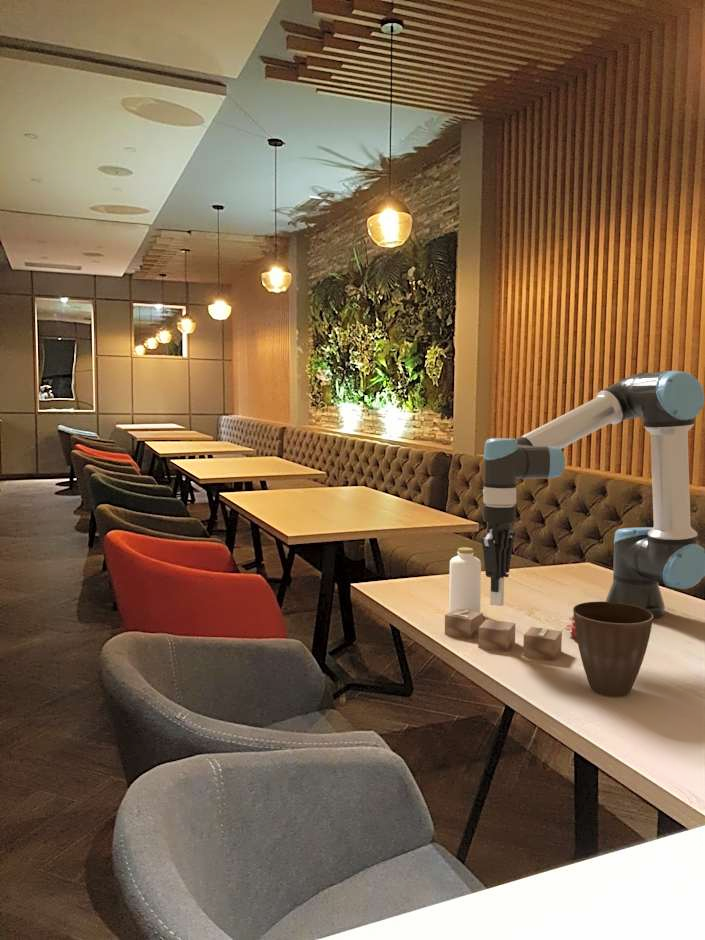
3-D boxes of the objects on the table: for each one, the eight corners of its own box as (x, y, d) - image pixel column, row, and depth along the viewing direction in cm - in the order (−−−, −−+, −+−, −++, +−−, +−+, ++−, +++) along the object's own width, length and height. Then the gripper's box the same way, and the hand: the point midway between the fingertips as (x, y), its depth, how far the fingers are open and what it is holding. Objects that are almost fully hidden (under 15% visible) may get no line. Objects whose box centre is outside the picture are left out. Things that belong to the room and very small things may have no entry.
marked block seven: (482, 632, 184) (482, 612, 183) (470, 639, 178) (471, 618, 178) (456, 627, 188) (457, 607, 187) (444, 634, 182) (444, 614, 181)
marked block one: (561, 652, 169) (561, 630, 169) (554, 661, 163) (555, 639, 163) (530, 647, 172) (531, 625, 172) (523, 656, 166) (523, 634, 166)
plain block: (514, 643, 175) (515, 622, 175) (508, 652, 169) (508, 631, 169) (486, 639, 178) (486, 619, 178) (478, 648, 172) (478, 627, 172)
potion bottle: (442, 614, 198) (443, 549, 196) (460, 608, 204) (461, 544, 202) (468, 621, 192) (469, 553, 191) (486, 614, 199) (487, 548, 197)
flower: (613, 628, 180) (594, 600, 183) (614, 632, 172) (594, 602, 174) (578, 648, 182) (560, 619, 185) (577, 652, 174) (558, 622, 176)
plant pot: (658, 708, 138) (661, 625, 136) (575, 702, 141) (578, 620, 139) (641, 678, 153) (644, 603, 151) (567, 674, 155) (569, 599, 154)
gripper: (497, 500, 178) (495, 596, 180) (471, 506, 168) (469, 607, 170) (526, 503, 173) (523, 601, 176) (501, 509, 163) (498, 613, 165)
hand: (496, 604), depth 173 cm, fingers closed
